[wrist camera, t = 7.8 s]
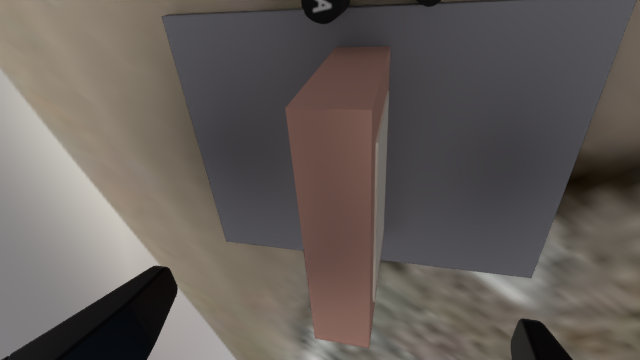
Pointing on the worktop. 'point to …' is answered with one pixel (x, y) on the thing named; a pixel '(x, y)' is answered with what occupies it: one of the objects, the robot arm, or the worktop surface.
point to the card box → (342, 186)
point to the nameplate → (336, 9)
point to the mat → (409, 117)
